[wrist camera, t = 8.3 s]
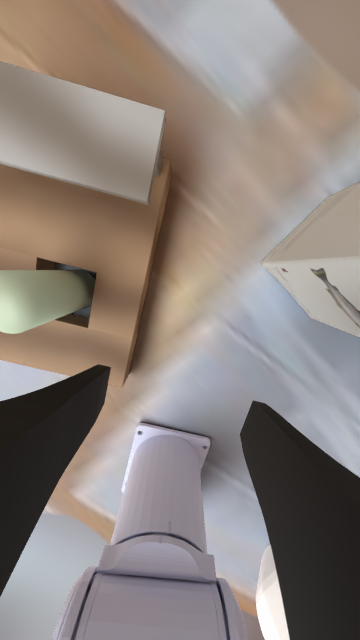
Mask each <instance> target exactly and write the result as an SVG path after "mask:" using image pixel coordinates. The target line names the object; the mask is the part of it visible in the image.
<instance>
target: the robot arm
mask: <svg viewBox="0 0 360 640" xmlns="http://www.w3.org/2000/svg"><path fill="white" fill-rule="evenodd" d="M110 371H111V367H109V366H104V365H100V364H98V365H96V366H93V367H91V368H89V369H87V370H85V371H83V372H80V373H78V374H76V375H74V376H72V377H69V378H67V379H65V380H62V381H60V382H57V383H55V384H52V385H50V386H47V387H45V388H42V389H40V390H37V391H34V392H31V393H28V394H25V395H21V396H18V397H15V398H11V399H8V400H4V401H0V596H1V594H2V592H3V590H4V588H5V586H6V584H7V582H8V580H9V578H10V576H11V573H12V572H13V569H14V568H15V565H16V563H17V562H18V560H19V557H20V555H21V553H22V551H23V549H24V547H25V545H26V543H27V541H28V539H29V537H30V535H31V533H32V532H33V529H34V528H35V526H36V523H37V522H38V520H39V518H40V516H41V514H42V512H43V510H44V508H45V506H46V504H47V502H48V500H49V498H50V496H51V495H52V493H53V491H54V489H55V487H56V485H57V483H58V481H59V479H60V478H61V476H62V474H63V473H64V471H65V469H66V468H67V466H68V464H69V463H70V461H71V460H72V458H73V457H74V455H75V453H76V452H77V450H78V449H79V447H80V446H81V444H82V442H83V441H84V439H85V438H86V436H87V435H88V433H89V431H90V430H91V428H92V427H93V425H94V423H95V421H96V419H97V417H98V415H99V413H100V411H101V409H102V407H103V405H104V402H105V396H106V391H107V386H108V381H109V376H110ZM139 431H142V432H139ZM240 437H241V442H242V448H243V453H244V457H245V460H246V463H247V467H248V470H249V473H250V476H251V479H252V482H253V485H254V488H255V491H256V495H257V498H258V501H259V504H260V507H261V510H262V513H263V517H264V520H265V524H266V528H267V532H268V536H269V541H270V545H271V549H272V553H273V558H274V562H275V567H276V572H277V577H278V581H279V586H280V591H281V596H282V601H283V606H284V612H285V617H286V622H287V628H288V633H289V638H290V640H360V478H359V477H358V476H357V475H355V474H354V473H352V472H351V471H349V470H348V469H347V468H345V467H344V466H342V465H341V464H340V463H338V462H337V461H336V460H334V459H333V458H332V457H330V456H329V455H328V454H326V453H325V452H324V451H323V450H321V449H320V448H319V447H317V446H316V445H315V444H314V443H312V442H311V441H310V440H309V439H308V438H306V437H305V436H304V435H303V434H302V433H300V432H299V431H298V430H297V429H296V428H294V427H293V426H292V425H291V424H290V423H289V422H287V421H286V420H285V419H284V418H283V417H282V416H280V415H279V414H278V413H277V412H276V411H274V410H273V409H272V408H271V407H269V406H268V405H266V404H265V403H261V402H257V401H253V402H252V405H251V407H250V410H249V412H248V415H247V418H246V420H245V423H244V425H243V428H242V430H241V433H240ZM210 444H211V442H210V439H209V438H208V437H204V436H199V435H195V434H190V433H186V432H181V431H177V430H172V429H168V428H163V427H159V426H155V425H150V424H146V423H139V424H138V425H137V428H136V432H135V436H134V440H133V444H132V448H131V452H130V456H129V460H128V465H127V469H126V473H125V477H124V481H123V485H122V489H121V491H122V492H123V493H124V494H123V498H122V501H121V505H120V509H119V513H118V517H117V520H116V524H115V528H114V532H113V536H112V539H111V543H110V545H105V546H104V549H103V553H102V556H101V560H100V563H99V567H88V568H87V570H86V571H85V572H84V573H83V575H82V576H81V577H80V578H79V579H78V580H77V581H76V583H75V584H74V585H73V587H72V589H71V591H70V593H69V595H68V597H67V600H66V602H65V604H64V607H63V609H62V612H61V614H60V617H59V620H58V623H57V625H56V628H55V631H54V634H53V637H52V640H247V635H246V630H245V625H244V621H243V617H242V613H241V609H240V606H239V603H238V601H237V599H236V597H235V595H234V594H233V592H232V590H231V588H230V586H229V584H228V582H227V581H226V580H225V579H223V578H216V572H215V563H214V556H213V555H210V554H207V545H206V534H205V523H204V511H203V500H202V488H201V477H200V473H201V470H202V467H203V464H204V461H205V459H206V456H207V453H208V450H209V447H210ZM204 445H205V446H204Z"/></svg>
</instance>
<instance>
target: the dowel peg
mask: <svg viewBox="0 0 360 640" xmlns="http://www.w3.org/2000/svg"><path fill="white" fill-rule="evenodd" d="M94 287H95V279H94V278H93V277H92V276H91V275H90V274H89V273H87V272H85V271H82V270H0V331H1V332H4V333H8V334H17V333H21V332H24V331H27V330H29V329H32V328H34V327H37V326H39V325H42V324H45V323H47V322H50V321H52V320H55V319H57V318H60V317H62V316H65V315H67V314H70V313H73V312H75V311H78V310H80V309H83V308H85V307H88V306H90V305H91V304H92V300H93V294H94Z"/></svg>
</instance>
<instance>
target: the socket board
mask: <svg viewBox="0 0 360 640" xmlns="http://www.w3.org/2000/svg"><path fill="white" fill-rule="evenodd" d="M165 121H166V116H165V110H161V109H158V108H155V107H151V106H148V105H145V104H141V103H138V102H135V101H131V100H128V99H125V98H121V97H118V96H115V95H111V94H108V93H105V92H101V91H98V90H95V89H91V88H88V87H85V86H82V85H78V84H75V83H72V82H68V81H65V80H62V79H58V78H55V77H52V76H48V75H45V74H42V73H38V72H35V71H32V70H28V69H25V68H22V67H18V66H15V65H12V64H8V63H5V62H2V61H0V270H55V266H56V262H58V263H62V264H66V265H69V266H73V267H77V268H81V269H85V270H89V271H93V272H97V274H96V281H95V287H94V294H93V300H92V306H91V313H90V318H86V317H82V316H78V315H74V314H67V315H65V316H62V317H60V318H57V319H55V320H52V321H50V322H47V323H45V324H42V325H39V326H37V327H34V328H32V329H29V330H27V331H24V332H21V333H17V334H8V333H4V332H1V331H0V360H3V361H7V362H12V363H16V364H20V365H25V366H29V367H33V368H38V369H42V370H46V371H51V372H55V373H59V374H63V375H68V376H74V375H76V374H78V373H80V372H83V371H85V370H87V369H89V368H91V367H93V366H96V365H98V364H100V365H104V366H109V367H111V371H110V376H109V381H108V385H111V386H115V387H120V388H122V387H123V385H124V383H125V381H126V379H127V377H128V375H129V372H130V367H131V362H132V358H133V353H134V349H135V344H136V339H137V335H138V330H139V326H140V321H141V316H142V312H143V307H144V302H145V298H146V293H147V289H148V284H149V279H150V275H151V270H152V266H153V261H154V256H155V252H156V247H157V243H158V238H159V233H160V229H161V224H162V219H163V215H164V210H165V206H166V201H167V196H168V192H169V187H170V183H171V178H172V170H171V161H170V159H167V158H164V157H162V155H161V150H160V146H161V141H162V136H163V131H164V126H165Z"/></svg>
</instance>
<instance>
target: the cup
mask: <svg viewBox="0 0 360 640" xmlns="http://www.w3.org/2000/svg"><path fill="white" fill-rule="evenodd" d="M256 608H257V613H258V618H259V623H260V626H261V629H262V633H263V636H264V638H265V640H290V638H289V633H288V628H287V622H286V617H285V612H284V606H283V601H282V596H281V591H280V586H279V581H278V577H277V572H276V567H275V562H274V558H273V553H272V549H271V545H270V544H269V545H268V546H267V547H266V549H265V551H264V554H263V556H262V560H261V566H260V573H259V579H258V585H257V592H256Z"/></svg>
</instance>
